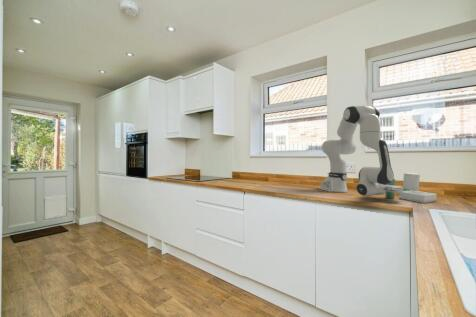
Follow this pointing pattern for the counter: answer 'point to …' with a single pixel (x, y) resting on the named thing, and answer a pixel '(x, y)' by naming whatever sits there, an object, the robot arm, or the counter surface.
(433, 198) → the tray
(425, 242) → the counter surface
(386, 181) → the robot arm
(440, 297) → the counter surface
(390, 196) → the green bottle
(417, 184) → the skincare box
